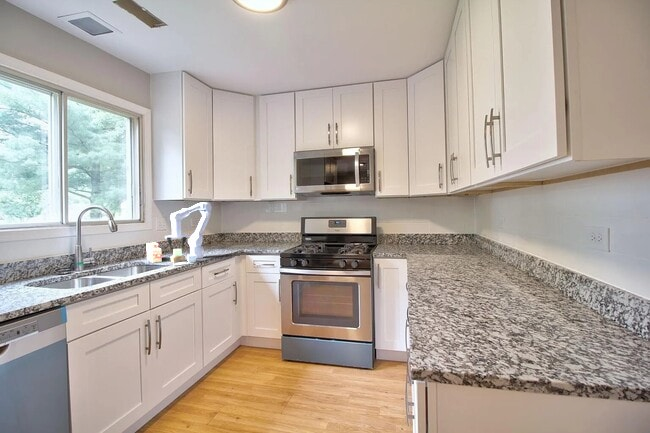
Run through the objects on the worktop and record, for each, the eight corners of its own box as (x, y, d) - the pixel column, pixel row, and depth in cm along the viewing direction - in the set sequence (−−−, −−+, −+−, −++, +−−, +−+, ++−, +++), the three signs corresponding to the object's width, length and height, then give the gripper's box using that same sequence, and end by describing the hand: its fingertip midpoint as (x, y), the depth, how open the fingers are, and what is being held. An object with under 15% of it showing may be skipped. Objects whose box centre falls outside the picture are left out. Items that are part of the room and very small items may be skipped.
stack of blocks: (161, 262, 212) (161, 244, 212) (152, 263, 208) (151, 245, 208) (156, 258, 229) (155, 242, 228) (146, 259, 225) (146, 243, 224)
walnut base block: (182, 260, 220) (182, 254, 220) (185, 261, 214) (185, 256, 214) (170, 261, 215) (170, 256, 215) (173, 263, 209) (173, 257, 208)
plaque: (187, 262, 207) (187, 261, 207) (189, 264, 200) (189, 263, 200) (173, 264, 203) (173, 263, 203) (174, 266, 195) (174, 265, 195)
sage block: (181, 255, 217) (180, 248, 217) (181, 256, 213) (181, 249, 213) (173, 255, 215) (173, 249, 215) (174, 256, 210) (173, 249, 210)
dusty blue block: (194, 261, 214) (194, 254, 214) (196, 262, 210) (195, 255, 210) (187, 261, 212) (187, 254, 211) (188, 263, 207) (188, 255, 207)
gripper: (165, 230, 207) (166, 249, 207) (188, 229, 215) (188, 247, 215) (164, 229, 213) (165, 248, 213) (186, 228, 221) (187, 246, 221)
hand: (176, 248), depth 215 cm, fingers open, 7 cm apart
